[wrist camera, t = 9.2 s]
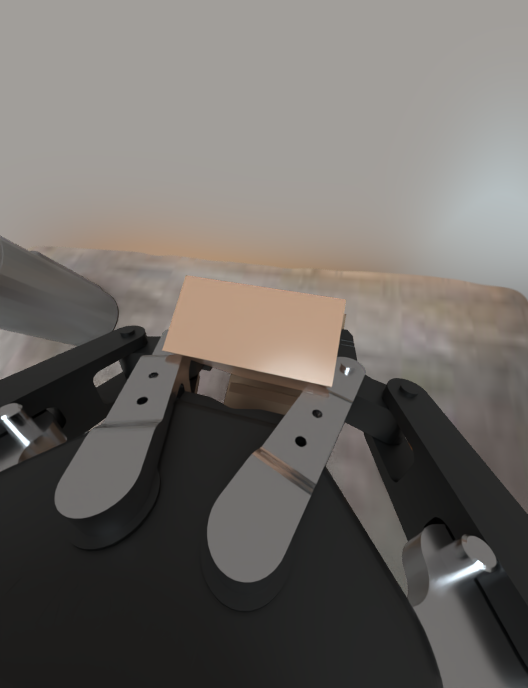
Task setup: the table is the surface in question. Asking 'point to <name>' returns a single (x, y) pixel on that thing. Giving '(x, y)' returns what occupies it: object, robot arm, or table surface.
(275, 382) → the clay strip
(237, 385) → the ridged wooden board
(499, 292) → the table surface
